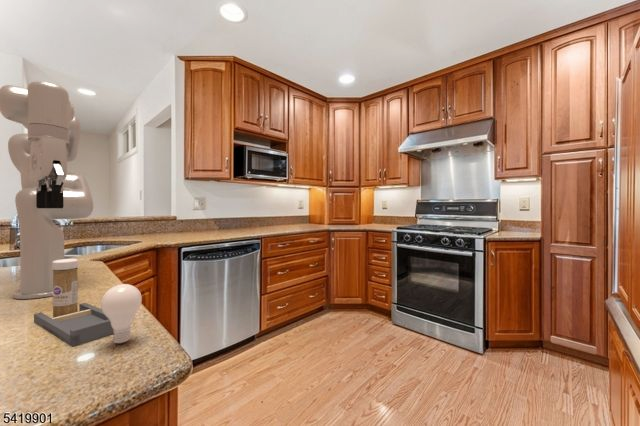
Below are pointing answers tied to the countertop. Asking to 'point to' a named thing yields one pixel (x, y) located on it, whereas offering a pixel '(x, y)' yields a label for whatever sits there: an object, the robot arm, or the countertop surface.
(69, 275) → the sprinkles bottle
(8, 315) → the countertop surface
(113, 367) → the countertop surface
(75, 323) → the tray
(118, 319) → the lightbulb
